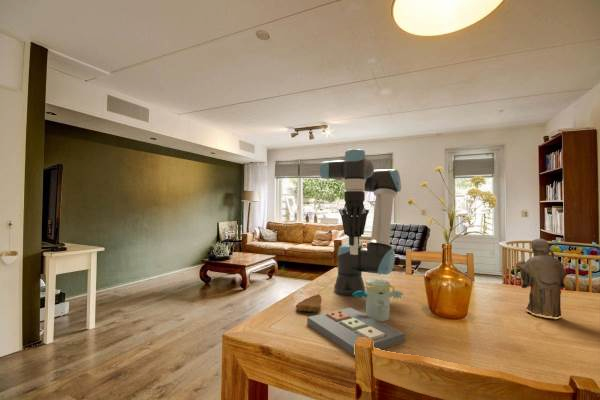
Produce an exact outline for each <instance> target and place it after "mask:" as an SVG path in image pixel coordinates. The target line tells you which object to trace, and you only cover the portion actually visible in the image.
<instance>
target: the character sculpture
mask: <svg viewBox="0 0 600 400" xmlns="http://www.w3.org/2000/svg"><path fill="white" fill-rule="evenodd" d="M365 282H366V283H365V284H366V285H365V293H364V292H363V291H357V292H354V293H353V294H352V296H351V297H354V298H357V299H359V298H360V299H361V298H364V297H365V315H367V316H369V317H372V318H374V319H376V320H378V321H380V322H384V321H385V322H386V321H388V320H389V319H390V305H391V304H390V299H391V298H392V297H393V299H397V300H398V299H399V298H400V299H401V298H402V296H404V293H403V292H402V291H399V290H396V289H395V287H394V286H393V285H391V284H390V281H388V280H386V279H385V280H384V279H382V278H381V279H380V278H379V279H378V278H370V279H367V280H366V281H365ZM390 288H391V289H392V290H390ZM353 295H355V296H353Z"/></svg>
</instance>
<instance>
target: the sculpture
mask: <svg viewBox="0 0 600 400" xmlns="http://www.w3.org/2000/svg"><path fill="white" fill-rule="evenodd" d="M530 247H531V249H532V254H533V256H531V257H529V258H528V259H527V260H526V261H524V260H520V261H517V267H518V268H519V270H518V271H519V272H520V277H521V278H520V279H521V280H522V283H521V285H520V287H521V288H522V289H526V288H528V286H530V291H529V295H528V296H529V298H528V299H529V302H528V304H527V307H526V308H525V310H526V309H528V310H529V311H531V312H532V313H535V314H541V315H545V316H552V317H559V316H561V317H562V309H561V308H562V307H561V294H562V290H561V288H562V289H566V284H565V277H566V276H567V275H568V274H567V271H566V269H565V267H564V265H563V263H562V261H561V260H560V259H558V258H557V257H555V253H554V251H553V250H552V249H551V248H550V244H549V243H548V241H547V240H546V239H544V238H534V240H532V241H531V243H530ZM550 254H551V255H550ZM567 277H568V276H567Z"/></svg>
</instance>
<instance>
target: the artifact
mask: <svg viewBox="0 0 600 400" xmlns="http://www.w3.org/2000/svg"><path fill="white" fill-rule="evenodd" d="M322 300H323V299H322V296H321V294H319V293H318V294H315V295H311V296H309V297H306V298H305V299H303V300H301V301H299V302H298V303H297V304H296V305H295V308H296V309H297V311H298V312H310V313H319V311H320V309H321V306H322V305H321V304H322Z"/></svg>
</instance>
